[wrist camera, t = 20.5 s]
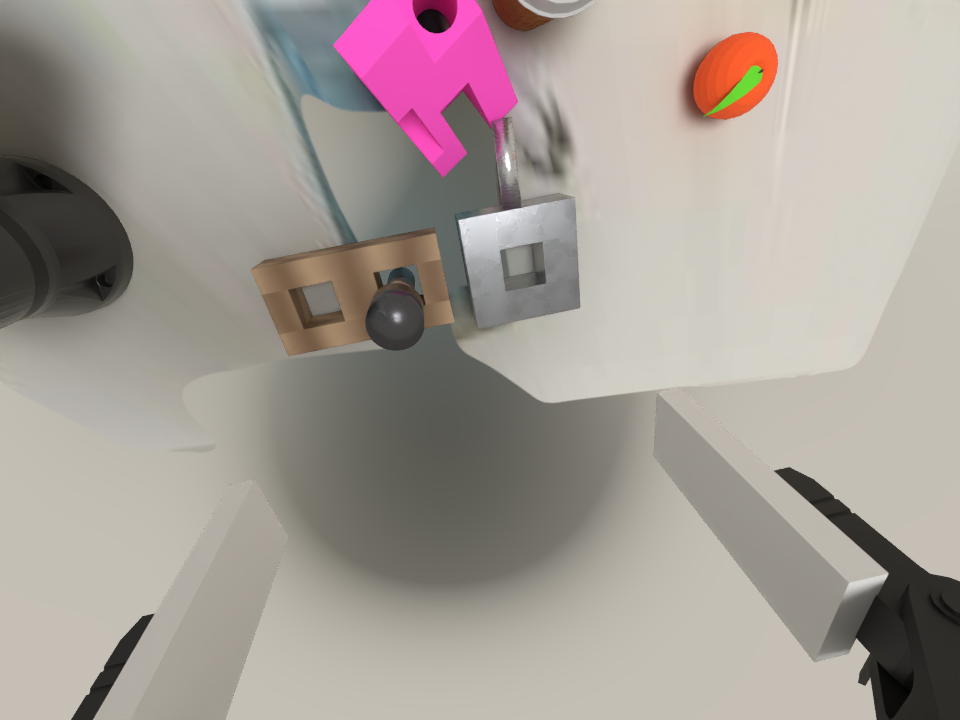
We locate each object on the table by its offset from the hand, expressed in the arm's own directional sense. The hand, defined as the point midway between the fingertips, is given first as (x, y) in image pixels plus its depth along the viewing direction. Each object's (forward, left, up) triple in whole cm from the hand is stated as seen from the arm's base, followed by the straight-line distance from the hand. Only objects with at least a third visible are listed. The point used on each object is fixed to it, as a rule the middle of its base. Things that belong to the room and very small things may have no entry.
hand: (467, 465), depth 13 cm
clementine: (+31, +11, -37) cm, 50 cm away
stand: (-9, -3, -37) cm, 38 cm away
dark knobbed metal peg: (-5, -3, -37) cm, 37 cm away
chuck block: (+9, -3, -37) cm, 38 cm away
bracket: (+4, +15, -37) cm, 40 cm away
